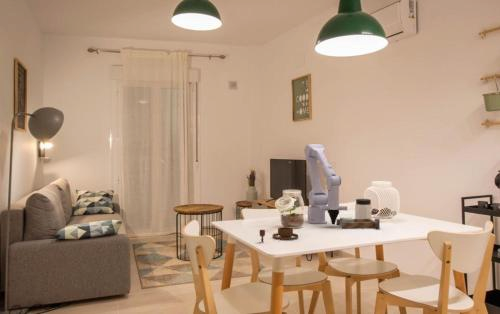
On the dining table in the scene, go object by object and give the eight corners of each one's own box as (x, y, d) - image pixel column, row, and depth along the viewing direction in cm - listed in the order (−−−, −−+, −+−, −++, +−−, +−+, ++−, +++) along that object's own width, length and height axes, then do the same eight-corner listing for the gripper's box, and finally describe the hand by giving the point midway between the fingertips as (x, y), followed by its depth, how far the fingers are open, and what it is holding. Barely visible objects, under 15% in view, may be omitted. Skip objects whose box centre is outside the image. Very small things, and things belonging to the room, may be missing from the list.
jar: (365, 222, 232) (365, 200, 231) (352, 220, 238) (352, 199, 237) (373, 220, 238) (373, 199, 238) (361, 218, 244) (361, 198, 244)
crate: (342, 228, 216) (342, 219, 216) (339, 225, 222) (339, 217, 222) (354, 227, 216) (354, 219, 216) (351, 225, 222) (351, 217, 222)
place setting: (304, 242, 184) (304, 229, 184) (260, 244, 180) (260, 231, 180) (292, 234, 202) (292, 222, 201) (252, 236, 198) (252, 224, 197)
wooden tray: (344, 229, 210) (344, 220, 210) (336, 224, 224) (336, 215, 224) (380, 229, 211) (380, 219, 211) (370, 224, 225) (370, 215, 225)
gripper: (321, 199, 214) (321, 225, 214) (349, 199, 215) (349, 225, 215) (318, 197, 221) (318, 223, 221) (345, 197, 222) (345, 222, 222)
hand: (333, 224), depth 218 cm, fingers closed
